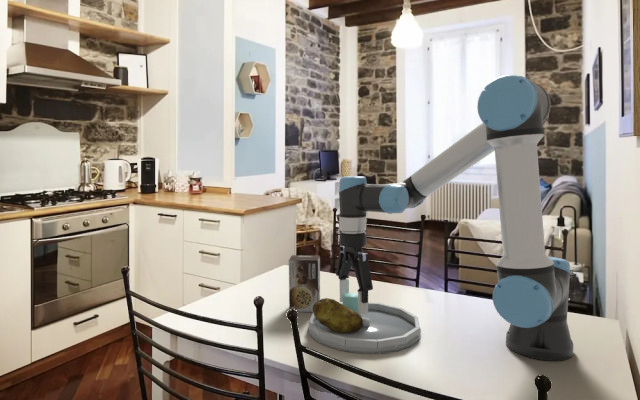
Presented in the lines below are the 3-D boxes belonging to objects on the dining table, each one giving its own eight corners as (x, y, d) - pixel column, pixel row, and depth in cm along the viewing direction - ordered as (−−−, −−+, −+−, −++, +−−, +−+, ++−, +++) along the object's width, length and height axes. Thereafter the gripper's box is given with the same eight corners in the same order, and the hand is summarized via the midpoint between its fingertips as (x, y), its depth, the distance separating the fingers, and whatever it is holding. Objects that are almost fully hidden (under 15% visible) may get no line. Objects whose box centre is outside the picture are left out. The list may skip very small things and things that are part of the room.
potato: (350, 340, 117) (351, 309, 116) (307, 329, 124) (308, 300, 123) (366, 330, 124) (366, 300, 123) (324, 320, 131) (325, 292, 130)
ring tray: (444, 342, 119) (444, 331, 119) (336, 361, 108) (336, 349, 108) (384, 306, 147) (384, 297, 146) (293, 318, 135) (293, 308, 135)
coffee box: (320, 306, 147) (321, 255, 145) (318, 313, 141) (318, 260, 139) (291, 304, 148) (291, 254, 146) (288, 311, 141) (288, 259, 140)
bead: (363, 317, 133) (363, 297, 132) (347, 320, 131) (347, 299, 131) (355, 312, 138) (355, 292, 137) (339, 314, 136) (339, 294, 135)
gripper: (386, 236, 122) (386, 318, 124) (346, 225, 144) (347, 294, 146) (360, 238, 119) (360, 322, 121) (324, 226, 141) (325, 297, 143)
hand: (353, 307), depth 134 cm, fingers open, 11 cm apart
